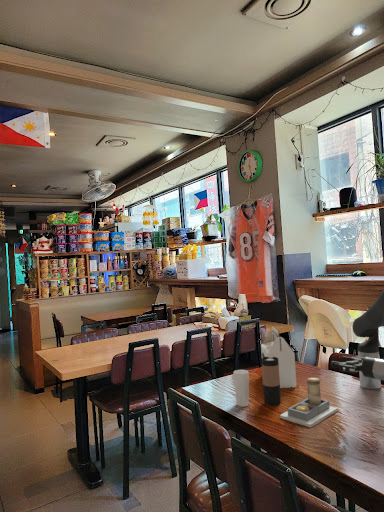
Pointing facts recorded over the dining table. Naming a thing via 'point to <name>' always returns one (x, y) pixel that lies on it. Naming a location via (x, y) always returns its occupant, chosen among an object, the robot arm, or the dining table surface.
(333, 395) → the dining table surface
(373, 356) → the robot arm
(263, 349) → the gable box
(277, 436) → the dining table surface
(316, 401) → the lidded cup
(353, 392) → the dining table surface
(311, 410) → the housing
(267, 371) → the travel mug
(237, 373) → the white cylinder
